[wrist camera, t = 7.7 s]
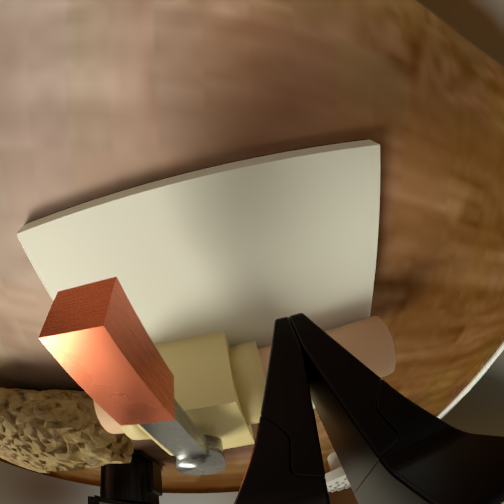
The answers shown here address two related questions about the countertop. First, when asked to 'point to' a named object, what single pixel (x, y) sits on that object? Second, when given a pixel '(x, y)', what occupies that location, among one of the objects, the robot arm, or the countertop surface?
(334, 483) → the showerhead
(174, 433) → the valve lever
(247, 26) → the countertop surface
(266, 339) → the valve board
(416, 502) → the robot arm
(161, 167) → the countertop surface
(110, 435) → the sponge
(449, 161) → the countertop surface
